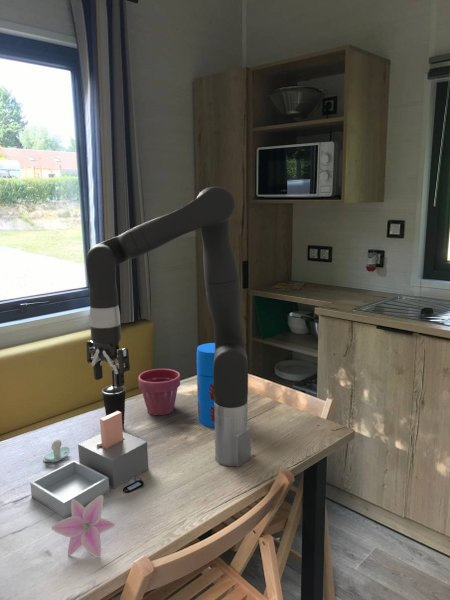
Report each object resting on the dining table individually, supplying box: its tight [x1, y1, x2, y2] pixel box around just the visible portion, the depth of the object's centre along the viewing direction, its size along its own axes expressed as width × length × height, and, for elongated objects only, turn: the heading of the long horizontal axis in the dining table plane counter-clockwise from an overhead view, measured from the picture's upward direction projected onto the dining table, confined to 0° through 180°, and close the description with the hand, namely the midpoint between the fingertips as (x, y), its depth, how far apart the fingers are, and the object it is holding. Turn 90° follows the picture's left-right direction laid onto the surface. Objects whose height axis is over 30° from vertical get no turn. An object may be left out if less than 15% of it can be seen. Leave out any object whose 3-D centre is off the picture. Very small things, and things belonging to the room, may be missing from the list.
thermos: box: [196, 342, 215, 428], centre depth 162 cm, size 11×11×25 cm
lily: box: [51, 495, 116, 558], centre depth 107 cm, size 12×12×10 cm
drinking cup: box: [101, 369, 127, 431], centre depth 156 cm, size 8×8×20 cm
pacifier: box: [42, 439, 71, 463], centre depth 141 cm, size 7×6×6 cm
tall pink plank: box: [99, 411, 124, 450], centre depth 133 cm, size 2×6×13 cm, turn 143°
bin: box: [29, 459, 110, 519], centre depth 124 cm, size 14×13×4 cm
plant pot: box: [138, 368, 181, 416], centre depth 171 cm, size 14×14×13 cm
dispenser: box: [77, 431, 149, 490], centre depth 135 cm, size 14×12×9 cm
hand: (109, 382), depth 130 cm, fingers open, 8 cm apart
